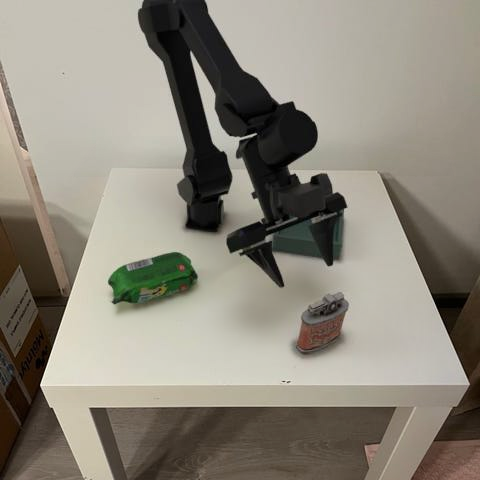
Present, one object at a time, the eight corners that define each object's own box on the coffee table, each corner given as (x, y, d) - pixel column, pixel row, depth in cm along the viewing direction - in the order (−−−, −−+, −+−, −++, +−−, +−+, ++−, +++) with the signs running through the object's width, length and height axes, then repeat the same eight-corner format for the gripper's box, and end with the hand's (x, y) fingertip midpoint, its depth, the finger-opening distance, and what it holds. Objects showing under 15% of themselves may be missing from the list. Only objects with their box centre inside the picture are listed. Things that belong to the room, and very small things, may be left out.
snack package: (105, 289, 85) (99, 267, 81) (189, 264, 89) (187, 242, 85) (116, 317, 80) (111, 295, 76) (203, 289, 85) (202, 267, 81)
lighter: (331, 325, 80) (343, 281, 73) (344, 339, 78) (357, 296, 71) (291, 343, 77) (298, 300, 70) (303, 358, 76) (312, 315, 68)
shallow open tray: (272, 250, 93) (273, 235, 90) (280, 212, 101) (281, 197, 98) (338, 260, 91) (341, 245, 89) (341, 220, 100) (344, 205, 97)
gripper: (238, 178, 60) (282, 295, 62) (352, 141, 67) (388, 247, 69) (208, 200, 70) (246, 300, 72) (309, 166, 77) (342, 258, 79)
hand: (307, 276), depth 73 cm, fingers open, 9 cm apart
